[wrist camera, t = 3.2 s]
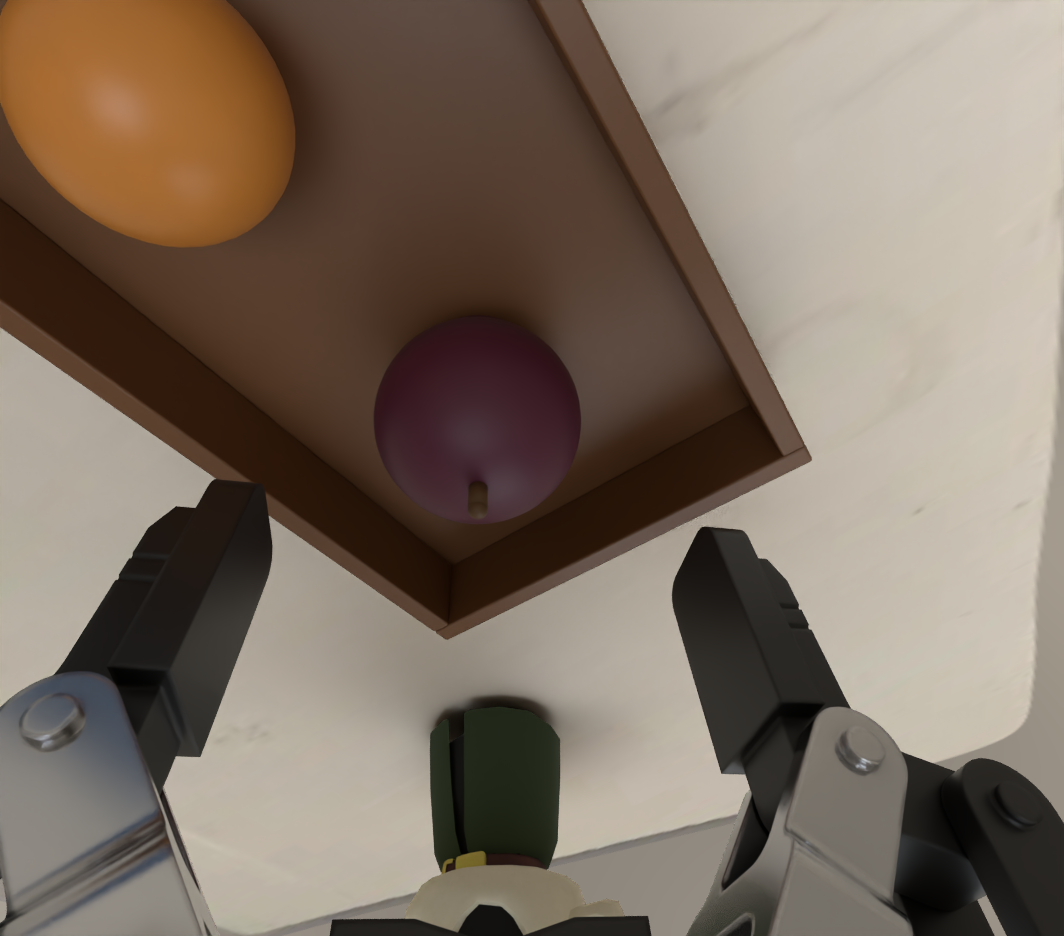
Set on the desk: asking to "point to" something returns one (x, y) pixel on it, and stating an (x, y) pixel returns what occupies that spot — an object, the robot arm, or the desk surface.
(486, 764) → the character mug
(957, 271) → the desk surface
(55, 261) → the tray
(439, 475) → the plum
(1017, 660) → the desk surface
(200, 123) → the apricot
